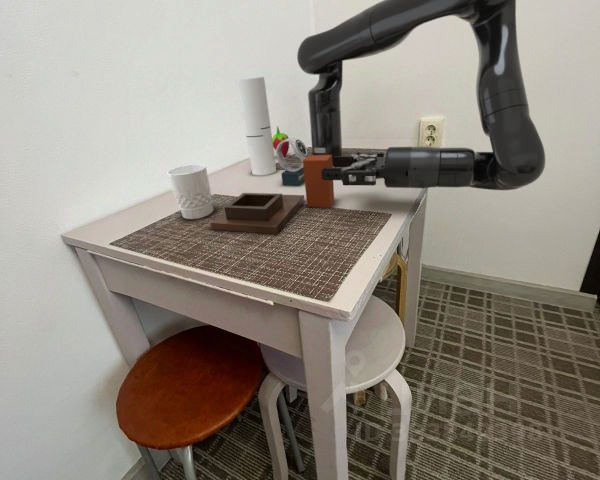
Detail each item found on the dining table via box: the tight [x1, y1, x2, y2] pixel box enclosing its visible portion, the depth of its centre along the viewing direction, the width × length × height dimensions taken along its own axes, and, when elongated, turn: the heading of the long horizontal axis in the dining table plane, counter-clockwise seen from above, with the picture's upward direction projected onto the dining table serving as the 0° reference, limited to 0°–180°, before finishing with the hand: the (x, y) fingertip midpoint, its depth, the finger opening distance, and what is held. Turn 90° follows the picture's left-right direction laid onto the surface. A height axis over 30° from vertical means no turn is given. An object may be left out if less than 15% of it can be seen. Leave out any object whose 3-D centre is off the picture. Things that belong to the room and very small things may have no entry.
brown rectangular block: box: [302, 154, 335, 209], centre depth 68 cm, size 4×5×10 cm
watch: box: [275, 137, 309, 187], centre depth 83 cm, size 6×8×11 cm
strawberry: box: [272, 125, 290, 157], centre depth 109 cm, size 6×7×10 cm
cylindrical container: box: [236, 76, 277, 176], centre depth 92 cm, size 7×7×25 cm
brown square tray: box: [210, 192, 306, 235], centre depth 68 cm, size 16×14×4 cm
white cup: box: [166, 163, 214, 220], centre depth 70 cm, size 8×8×10 cm
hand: (327, 167), depth 66 cm, fingers open, 8 cm apart
